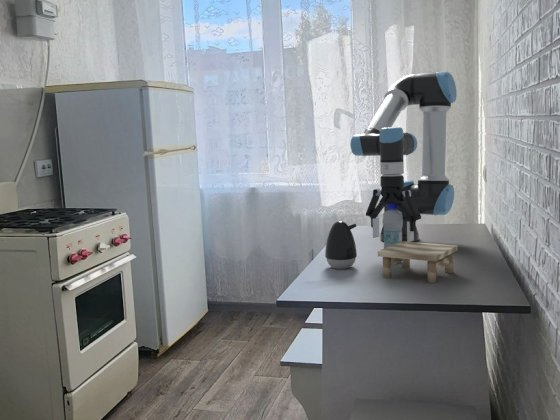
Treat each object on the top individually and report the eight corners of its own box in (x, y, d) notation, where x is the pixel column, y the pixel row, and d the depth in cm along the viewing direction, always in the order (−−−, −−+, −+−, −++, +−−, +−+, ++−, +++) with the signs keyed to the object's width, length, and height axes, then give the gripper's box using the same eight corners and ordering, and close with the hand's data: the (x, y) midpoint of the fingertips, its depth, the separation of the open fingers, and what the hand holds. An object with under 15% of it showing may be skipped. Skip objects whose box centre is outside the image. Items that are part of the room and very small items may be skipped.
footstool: (402, 265, 197) (402, 241, 196) (457, 271, 186) (457, 245, 185) (378, 277, 182) (377, 251, 181) (436, 284, 172) (435, 256, 171)
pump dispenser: (353, 271, 191) (352, 223, 189) (321, 270, 195) (320, 223, 193) (360, 264, 201) (359, 219, 199) (330, 263, 204) (329, 218, 202)
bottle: (403, 264, 199) (402, 203, 196) (382, 264, 200) (381, 203, 198) (403, 260, 205) (402, 201, 203) (383, 260, 207) (382, 201, 204)
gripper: (354, 175, 205) (356, 237, 208) (418, 176, 188) (419, 244, 190) (368, 173, 210) (369, 234, 213) (431, 175, 193) (432, 241, 195)
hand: (392, 239), depth 202 cm, fingers open, 13 cm apart
